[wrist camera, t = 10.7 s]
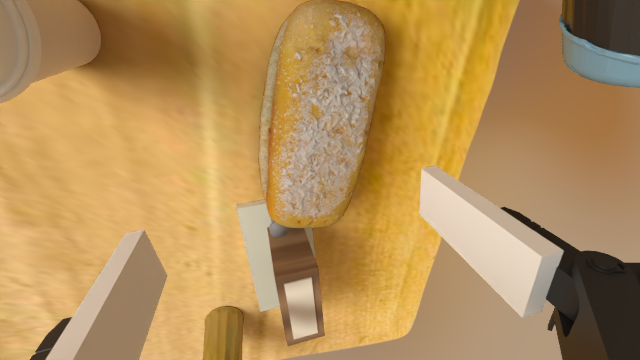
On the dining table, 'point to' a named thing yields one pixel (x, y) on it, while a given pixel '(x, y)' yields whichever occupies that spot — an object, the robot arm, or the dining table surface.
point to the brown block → (297, 286)
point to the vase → (223, 334)
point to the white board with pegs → (263, 249)
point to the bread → (318, 110)
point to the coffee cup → (43, 41)
